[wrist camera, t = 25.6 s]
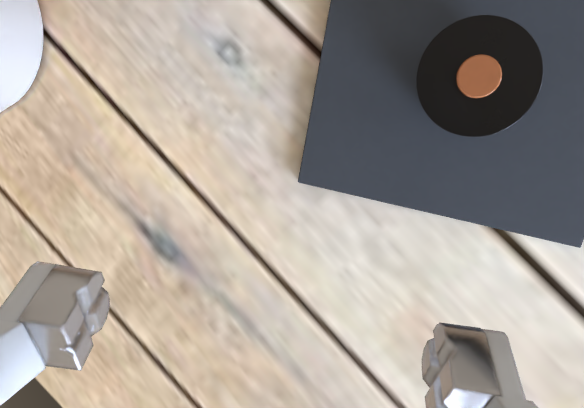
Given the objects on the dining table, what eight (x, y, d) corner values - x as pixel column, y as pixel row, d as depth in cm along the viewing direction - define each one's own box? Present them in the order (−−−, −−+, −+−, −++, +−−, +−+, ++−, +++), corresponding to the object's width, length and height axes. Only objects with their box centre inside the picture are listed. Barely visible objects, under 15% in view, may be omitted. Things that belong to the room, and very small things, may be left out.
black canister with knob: (401, 97, 32) (391, 90, 23) (458, 24, 30) (472, -16, 21) (468, 148, 31) (485, 162, 22) (531, 77, 29) (578, 60, 20)
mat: (299, 181, 36) (297, 182, 35) (346, -71, 31) (344, -75, 31) (577, 245, 31) (580, 248, 30) (677, -42, 26) (683, -45, 26)
